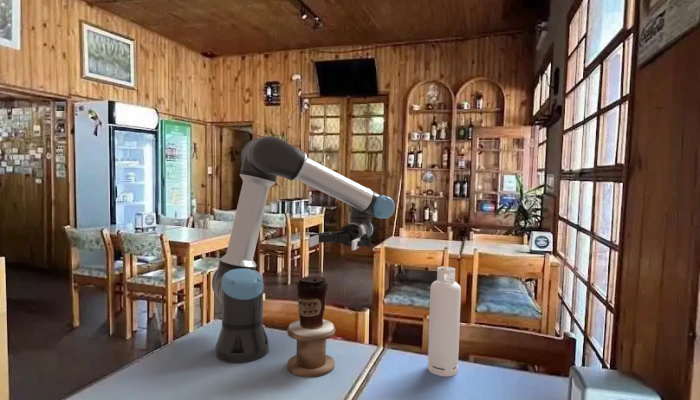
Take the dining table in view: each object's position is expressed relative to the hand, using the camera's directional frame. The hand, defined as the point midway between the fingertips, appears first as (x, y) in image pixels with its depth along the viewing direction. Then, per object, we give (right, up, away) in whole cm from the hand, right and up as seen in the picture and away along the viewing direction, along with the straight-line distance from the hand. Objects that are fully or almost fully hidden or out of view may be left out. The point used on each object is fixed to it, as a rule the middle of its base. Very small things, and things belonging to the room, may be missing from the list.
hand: (330, 244), depth 127 cm
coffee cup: (-5, -22, -9) cm, 24 cm away
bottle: (+31, -34, -9) cm, 47 cm away
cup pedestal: (-5, -33, -9) cm, 34 cm away
